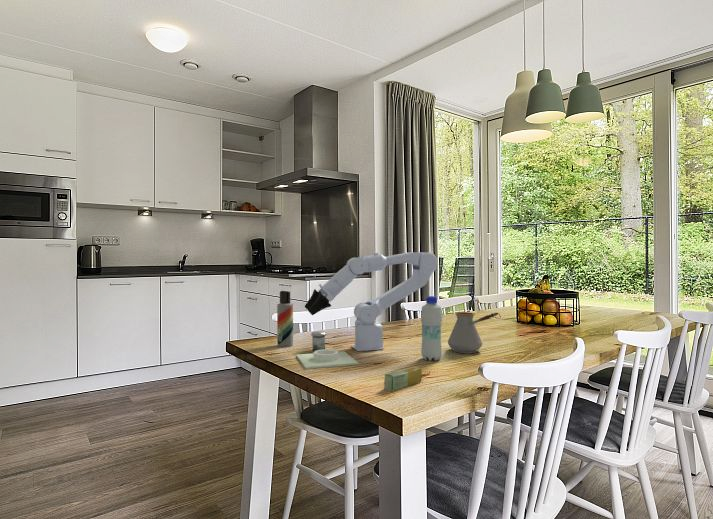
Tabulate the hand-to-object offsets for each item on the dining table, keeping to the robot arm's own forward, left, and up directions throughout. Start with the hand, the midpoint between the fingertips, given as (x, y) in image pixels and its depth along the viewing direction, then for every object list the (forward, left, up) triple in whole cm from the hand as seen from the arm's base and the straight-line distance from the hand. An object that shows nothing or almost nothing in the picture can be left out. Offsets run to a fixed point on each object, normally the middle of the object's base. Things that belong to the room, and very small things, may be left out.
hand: (308, 310), depth 149 cm
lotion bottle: (+6, -12, -14) cm, 20 cm away
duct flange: (-3, +14, -14) cm, 20 cm away
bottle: (-35, +23, -14) cm, 44 cm away
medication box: (-16, +45, -14) cm, 49 cm away
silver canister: (-4, -1, -14) cm, 15 cm away
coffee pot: (-52, +21, -14) cm, 58 cm away
